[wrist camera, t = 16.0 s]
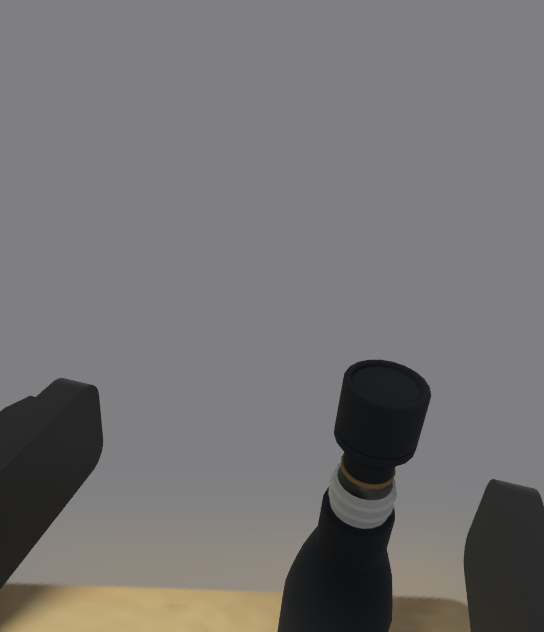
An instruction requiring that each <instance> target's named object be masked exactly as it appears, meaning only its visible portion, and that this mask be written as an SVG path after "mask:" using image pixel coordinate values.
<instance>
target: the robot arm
mask: <svg viewBox="0 0 544 632" xmlns="http://www.w3.org/2000/svg"><path fill="white" fill-rule="evenodd" d="M102 447H103V433H102V423H101V412H100V402H99V393H98V390H97V388H96V387H95V386H94V385H90V384H86V383H82V382H77V381H73V380H69V379H64V378H59V379H57V380H55V381H54V382H52V383H51V384H50V385H49V386H48V387H47V388H46V389H45V390H43V391H42V392H41V393H40V394H39V395H38V396H37V397H33V396H29V397H27V398H25V399H23V400H21V401H18V402H16V403H14V404H12V405H10V406H8V407H6V408H4V409H3V410H2V411H1V412H0V589H1V588H2V586H3V585H4V584H5V583H6V581H7V580H8V579H9V577H10V576H11V575H12V574H13V572H14V571H15V570H16V568H17V567H18V566H19V565H20V563H21V562H22V561H23V559H24V558H25V557H26V556H27V554H28V553H29V552H30V551H31V549H32V548H33V547H34V545H35V544H36V543H37V542H38V540H39V539H40V538H41V536H42V535H43V534H44V533H45V531H46V530H47V529H48V527H49V526H50V525H51V524H52V522H53V521H54V520H55V518H56V517H57V516H58V515H59V513H60V512H61V511H62V509H63V508H64V507H65V506H66V504H67V503H68V502H69V501H70V499H71V498H72V497H73V495H74V494H75V493H76V492H77V490H78V489H79V488H80V486H81V485H82V484H83V483H84V481H85V480H86V479H87V477H88V476H89V475H90V473H91V472H92V471H93V470H94V468H95V467H96V465H97V463H98V461H99V458H100V455H101V452H102ZM464 573H465V582H466V591H467V600H468V609H469V618H470V627H471V632H544V506H543V503H542V499H541V496H540V494H539V492H538V491H537V490H536V489H534V488H529V487H525V486H521V485H516V484H512V483H508V482H503V481H499V480H494V479H492V480H490V482H489V483H488V485H487V487H486V490H485V492H484V494H483V497H482V500H481V502H480V505H479V507H478V510H477V512H476V515H475V517H474V520H473V522H472V525H471V528H470V530H469V532H468V535H467V539H466V545H465V551H464Z"/></svg>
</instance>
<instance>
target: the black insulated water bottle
mask: <svg viewBox="0 0 544 632" xmlns="http://www.w3.org/2000/svg"><path fill="white" fill-rule="evenodd" d="M430 398H431V392H430V387H429V385H428V384H427V382H426V381H425V379H424V378H423V377H421V376H420V375H419V374H418V373H416V372H415V371H413V370H411V369H410V368H408V367H406V366H404V365H400V364H397V363H395V362H390V361H384V360H366V361H361V362H358V363H355V364H354V365H352V366H350V367H349V368H348V369H347V371H346V372H345V374H344V378H343V385H342V390H341V395H340V401H339V406H338V412H337V417H336V423H335V430H334V435H335V438H336V441H337V443H338V444H339V446H340V447H341V448H342V449H343V451H344V454H343V456H342V459H341V463H339V465H338V466H337V468H336V469H335V470H334V472H333V474H332V476H331V481H330V485H329V487H328V489H327V491H326V492H325V494H324V495H323V501H322V507H321V512H320V518H319V523H318V526H317V528H316V529H315V530H314V531H313V532H312V534H311V535H310V536H309V538H308V539H307V540H306V541H305V543H304V544H303V546H302V548H301V549H300V551H299V553H298V555H297V556H296V559H295V560H294V562H293V564H292V566H291V568H290V571H289V573H288V575H287V578H286V581H285V586H284V592H283V598H282V605H281V612H280V618H279V625H278V632H388V630H389V627H390V624H391V621H392V574H391V569H390V563H389V558H388V553H387V545H388V542H389V538H390V535H391V531H392V528H393V524H394V521H395V511H394V502H395V499H396V496H397V493H396V487H395V480H394V476H395V466H398V465H401V464H404V463H406V462H407V461H409V460H410V459H411V458H412V457H413V455H414V453H415V450H416V447H417V444H418V440H419V437H420V433H421V430H422V426H423V423H424V419H425V416H426V412H427V409H428V405H429V402H430Z"/></svg>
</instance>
